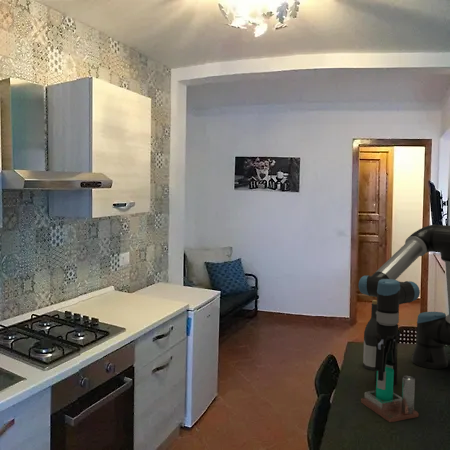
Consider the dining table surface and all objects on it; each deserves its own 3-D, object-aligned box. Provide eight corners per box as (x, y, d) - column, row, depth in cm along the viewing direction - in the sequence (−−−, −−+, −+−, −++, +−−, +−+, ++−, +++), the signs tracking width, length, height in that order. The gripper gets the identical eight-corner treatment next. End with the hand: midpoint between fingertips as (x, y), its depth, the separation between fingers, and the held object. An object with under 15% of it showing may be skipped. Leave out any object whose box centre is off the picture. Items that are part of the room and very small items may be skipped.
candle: (372, 395, 175) (373, 363, 174) (384, 392, 178) (385, 361, 177) (384, 402, 170) (385, 369, 169) (396, 398, 172) (397, 366, 171)
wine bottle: (381, 371, 206) (384, 303, 204) (362, 369, 209) (364, 301, 207) (382, 365, 214) (384, 299, 212) (363, 363, 217) (365, 297, 214)
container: (398, 387, 191) (400, 338, 189) (375, 385, 193) (376, 336, 191) (395, 378, 199) (397, 331, 198) (373, 376, 201) (374, 330, 199)
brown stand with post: (387, 397, 181) (389, 362, 180) (418, 416, 166) (419, 379, 165) (361, 402, 177) (362, 366, 176) (389, 422, 162) (391, 383, 161)
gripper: (387, 315, 181) (384, 375, 183) (366, 326, 167) (364, 391, 168) (407, 319, 176) (404, 380, 178) (387, 330, 162) (384, 397, 164)
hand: (384, 385), depth 173 cm, fingers closed on candle, 6 cm apart
